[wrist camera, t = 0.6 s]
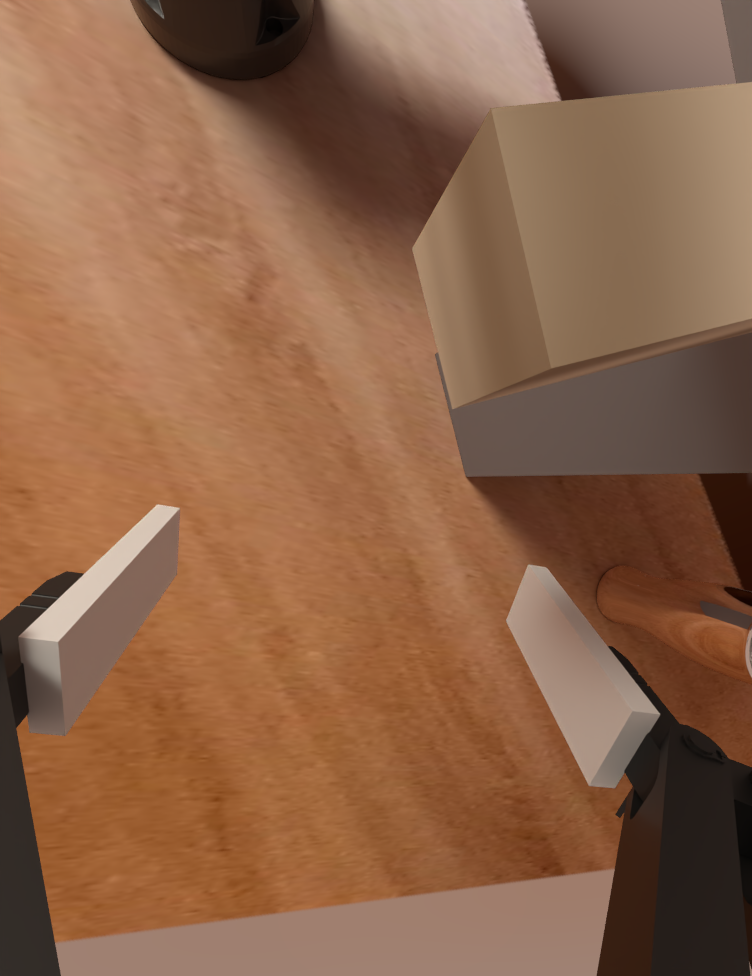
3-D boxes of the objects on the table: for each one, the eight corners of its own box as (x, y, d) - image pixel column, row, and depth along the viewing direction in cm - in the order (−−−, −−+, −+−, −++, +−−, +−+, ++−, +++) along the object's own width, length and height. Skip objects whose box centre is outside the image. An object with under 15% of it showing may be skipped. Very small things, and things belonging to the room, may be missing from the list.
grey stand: (430, 497, 40) (938, 562, 9) (393, 352, 39) (823, -140, 8) (573, 455, 44) (1308, 394, 12) (541, 320, 42) (1261, -122, 11)
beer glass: (658, 588, 46) (832, 639, 32) (622, 639, 45) (783, 715, 31) (618, 547, 45) (780, 580, 30) (580, 598, 44) (727, 658, 29)
